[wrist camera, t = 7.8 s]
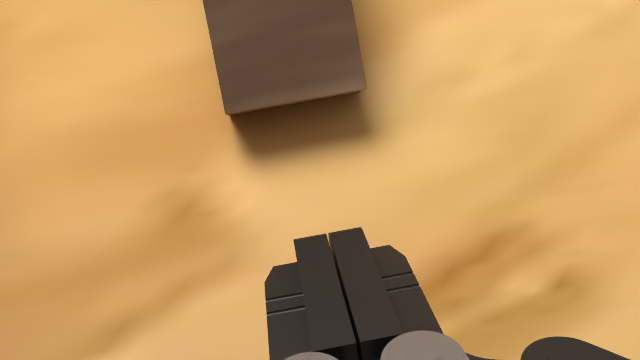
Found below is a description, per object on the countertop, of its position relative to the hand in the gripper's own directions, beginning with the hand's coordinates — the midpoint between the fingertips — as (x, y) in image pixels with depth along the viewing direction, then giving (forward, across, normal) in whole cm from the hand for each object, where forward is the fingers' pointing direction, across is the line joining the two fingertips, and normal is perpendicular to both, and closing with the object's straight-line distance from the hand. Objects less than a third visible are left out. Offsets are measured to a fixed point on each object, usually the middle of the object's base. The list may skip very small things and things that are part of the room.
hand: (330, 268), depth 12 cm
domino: (+10, 0, -1) cm, 10 cm away
